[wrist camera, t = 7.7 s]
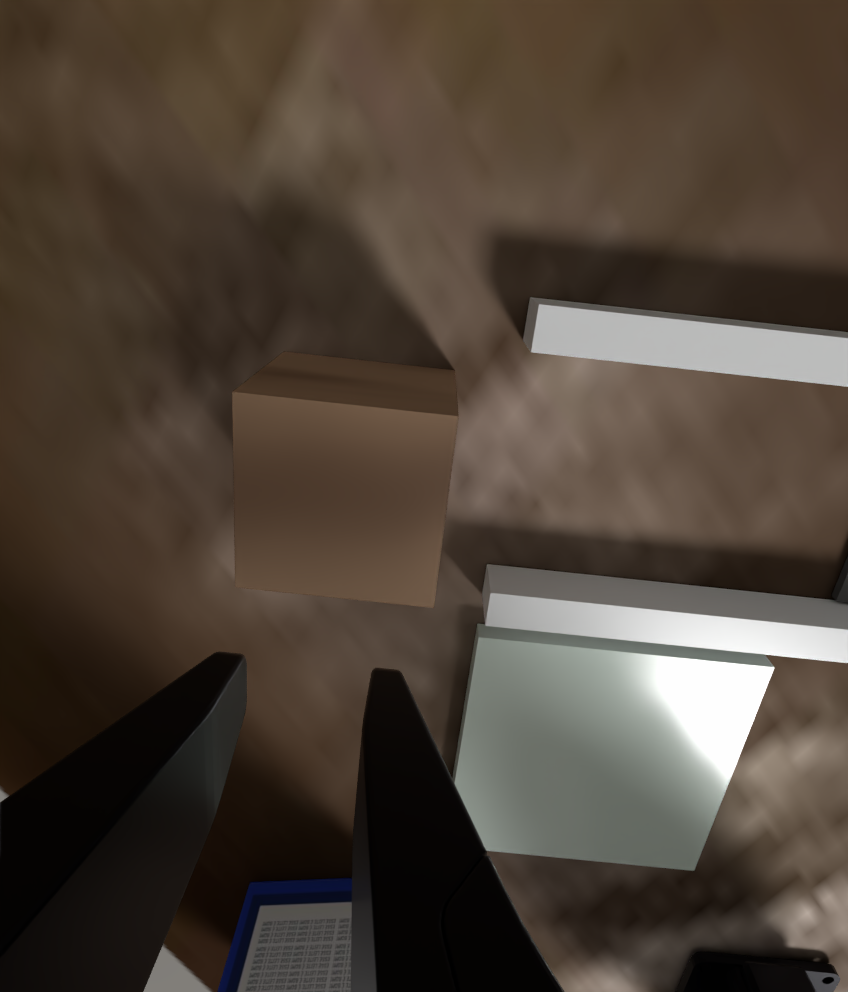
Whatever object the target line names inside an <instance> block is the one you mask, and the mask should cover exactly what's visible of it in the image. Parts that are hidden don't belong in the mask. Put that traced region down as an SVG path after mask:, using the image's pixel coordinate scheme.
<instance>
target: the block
mask: <svg viewBox="0 0 848 992" xmlns="http://www.w3.org/2000/svg"><path fill="white" fill-rule="evenodd" d="M232 414H233V476H234V538H235V587H236V588H246V589H256V590H265V591H275V592H285V593H294V594H304V595H314V596H323V597H333V598H342V599H352V600H362V601H371V602H381V603H391V604H400V605H410V606H420V607H429V608H434V603H435V595H436V587H437V579H438V572H439V564H440V556H441V549H442V541H443V533H444V525H445V518H446V510H447V502H448V494H449V487H450V479H451V471H452V463H453V456H454V448H455V440H456V432H457V425H458V417H459V416H458V404H457V392H456V380H455V370H448V369H439V368H430V367H421V366H412V365H403V364H394V363H384V362H375V361H366V360H357V359H348V358H339V357H330V356H320V355H311V354H302V353H293V352H283V353H282V354H280V355H279V356H278V357H276V358H275V359H274V360H273V361H271V362H270V363H269V364H267V365H266V366H265V367H264V368H262V369H261V370H260V371H258V372H257V373H256V374H254V375H253V376H252V377H251V378H249V379H248V380H247V381H245V382H244V383H243V384H242V385H240V386H239V387H238V388H236V389H235V390H234V391H233V392H232Z"/></svg>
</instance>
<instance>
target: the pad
mask: <svg viewBox="0 0 848 992" xmlns="http://www.w3.org/2000/svg"><path fill="white" fill-rule="evenodd" d="M773 670H774V666H773V665H772V664H771V662H770V661H769V660H768V658H767V657H766V656H765V654H755V653H745V652H736V651H726V650H716V649H706V648H697V647H687V646H677V645H667V644H658V643H648V642H638V641H628V640H619V639H609V638H599V637H589V636H580V635H570V634H560V633H550V632H541V631H531V630H521V629H511V628H502V627H492V626H485V624H478V623H477V629H476V635H475V641H474V647H473V653H472V660H471V666H470V672H469V678H468V684H467V691H466V697H465V703H464V709H463V715H462V722H461V728H460V734H459V740H458V746H457V753H456V759H455V765H454V771H453V777H452V779H453V781H454V784H455V786H456V788H457V790H458V792H459V794H460V796H461V798H462V800H463V802H464V805H465V807H466V809H467V811H468V813H469V815H470V817H471V819H472V821H473V823H474V826H475V828H476V830H477V832H478V834H479V836H480V838H481V840H482V842H483V844H484V846H485V849H486V851H495V852H505V853H516V854H526V855H536V856H546V857H557V858H567V859H577V860H587V861H598V862H608V863H618V864H628V865H639V866H649V867H659V868H669V869H680V870H690V871H694V870H695V868H696V865H697V863H698V860H699V857H700V855H701V852H702V850H703V847H704V845H705V842H706V840H707V837H708V835H709V832H710V830H711V827H712V824H713V822H714V819H715V817H716V814H717V812H718V809H719V807H720V804H721V802H722V799H723V797H724V794H725V791H726V789H727V786H728V784H729V781H730V779H731V776H732V774H733V771H734V769H735V766H736V764H737V761H738V759H739V756H740V753H741V751H742V748H743V746H744V743H745V741H746V738H747V736H748V733H749V731H750V728H751V726H752V723H753V720H754V718H755V715H756V713H757V710H758V708H759V705H760V703H761V700H762V698H763V695H764V693H765V690H766V687H767V685H768V682H769V680H770V677H771V675H772V672H773Z"/></svg>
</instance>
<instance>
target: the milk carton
mask: <svg viewBox="0 0 848 992" xmlns="http://www.w3.org/2000/svg"><path fill="white" fill-rule="evenodd" d="M250 883H251V884H249V887H248V890H247V894H246V897H245V901H244V904H243V907H242V911H241V914H240V917H239V921H238V924H237V928H236V931H235V934H234V938H233V941H232V945H231V948H230V951H229V955H228V958H227V961H226V965H225V968H224V972H223V975H222V978H221V982H220V985H219V988H218V992H351V923H352V878H335V879H312V880H289V881H267V882H250Z"/></svg>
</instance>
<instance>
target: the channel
mask: <svg viewBox="0 0 848 992" xmlns="http://www.w3.org/2000/svg"><path fill="white" fill-rule="evenodd" d="M523 342H524V343H525V344H526V346H527V347H528V349H529V350H530V351H531V352H535V353H544V354H553V355H562V356H571V357H580V358H590V359H599V360H608V361H617V362H626V363H636V364H645V365H654V366H663V367H672V368H682V369H691V370H700V371H709V372H718V373H727V374H737V375H746V376H755V377H764V378H773V379H783V380H792V381H801V382H810V383H819V384H828V385H838V386H847V387H848V332H842V331H833V330H824V329H815V328H806V327H797V326H788V325H779V324H769V323H760V322H751V321H742V320H733V319H724V318H715V317H706V316H697V315H688V314H679V313H670V312H661V311H651V310H642V309H633V308H624V307H615V306H606V305H597V304H588V303H579V302H570V301H561V300H552V299H542V298H533V297H530V300H529V306H528V313H527V319H526V325H525V331H524V337H523ZM831 596H832V597H833V598H834V599H835V600H828V599H819V598H809V597H800V596H790V595H780V594H771V593H761V592H752V591H742V590H732V589H723V588H713V587H703V586H694V585H684V584H675V583H665V582H655V581H646V580H636V579H627V578H617V577H607V576H598V575H588V574H578V573H569V572H559V571H550V570H540V569H530V568H521V567H511V566H502V565H492V564H487V567H486V573H485V579H484V585H483V591H482V600H483V610H484V619H485V626H492V627H502V628H511V629H521V630H531V631H541V632H550V633H560V634H570V635H580V636H589V637H599V638H609V639H619V640H628V641H638V642H648V643H658V644H667V645H677V646H687V647H697V648H706V649H716V650H726V651H736V652H745V653H755V654H765V655H775V656H784V657H794V658H804V659H814V660H823V661H833V662H843V663H848V557H847V559H846V561H845V564H844V566H843V569H842V571H841V574H840V576H839V578H838V581H837V583H836V586H835V588H834V590H833V593H832V595H831Z"/></svg>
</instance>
